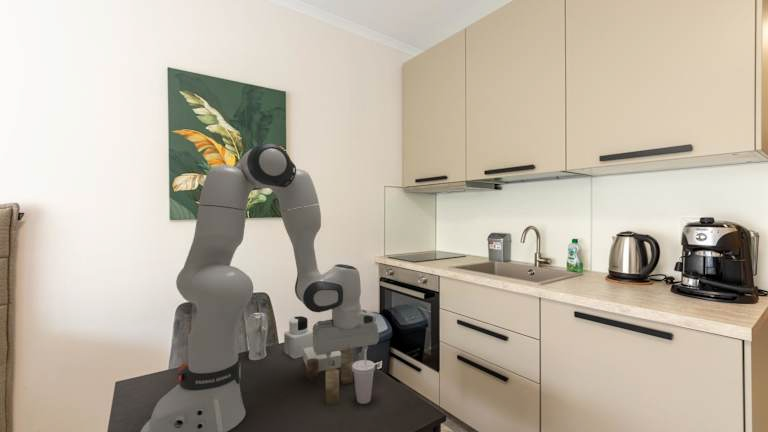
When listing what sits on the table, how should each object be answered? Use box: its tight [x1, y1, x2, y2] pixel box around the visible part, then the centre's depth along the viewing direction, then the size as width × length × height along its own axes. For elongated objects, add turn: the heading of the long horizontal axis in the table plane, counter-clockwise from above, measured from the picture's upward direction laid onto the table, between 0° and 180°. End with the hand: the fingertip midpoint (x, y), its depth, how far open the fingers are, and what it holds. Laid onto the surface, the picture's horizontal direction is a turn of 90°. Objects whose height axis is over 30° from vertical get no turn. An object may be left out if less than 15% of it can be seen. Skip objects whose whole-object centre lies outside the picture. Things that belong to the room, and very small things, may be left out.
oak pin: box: [325, 368, 340, 406], centre depth 91 cm, size 4×4×8 cm
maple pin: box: [340, 344, 354, 385], centre depth 102 cm, size 4×4×12 cm
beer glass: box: [246, 312, 269, 361], centre depth 120 cm, size 7×7×15 cm
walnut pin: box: [306, 358, 320, 380], centre depth 105 cm, size 4×4×5 cm
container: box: [283, 315, 314, 360], centre depth 123 cm, size 8×8×13 cm
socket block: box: [302, 347, 341, 373], centre depth 114 cm, size 11×11×4 cm
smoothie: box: [352, 349, 376, 405], centre depth 92 cm, size 6×6×14 cm
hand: (346, 362), depth 102 cm, fingers open, 8 cm apart
